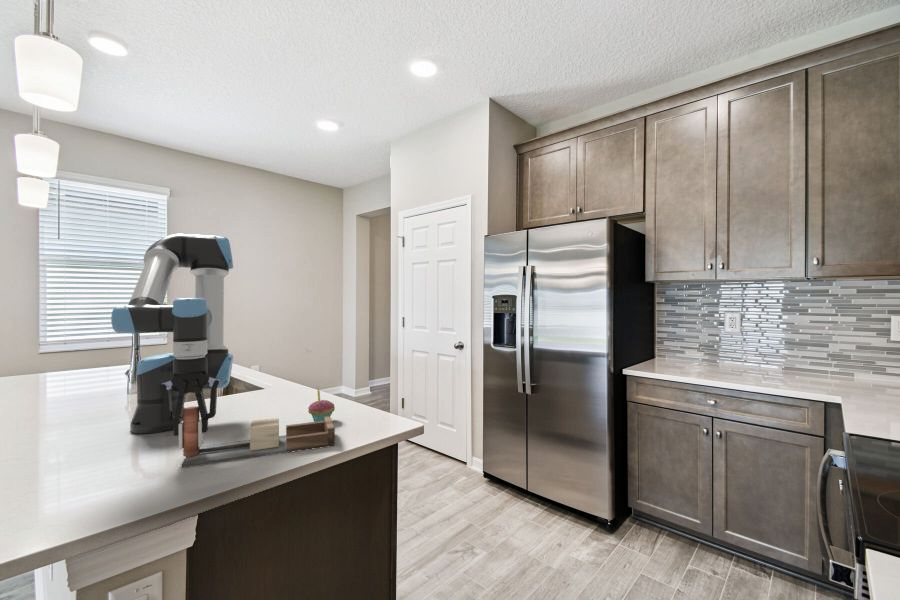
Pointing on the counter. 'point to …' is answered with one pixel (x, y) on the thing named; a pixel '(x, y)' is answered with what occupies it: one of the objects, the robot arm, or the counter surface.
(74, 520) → the counter surface
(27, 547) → the counter surface
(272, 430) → the rod with end block
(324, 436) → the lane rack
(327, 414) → the cupcake
